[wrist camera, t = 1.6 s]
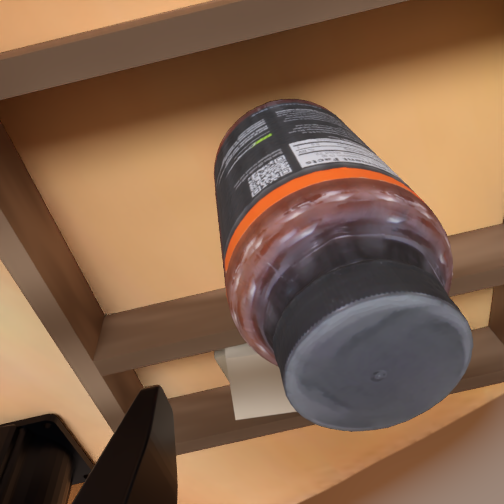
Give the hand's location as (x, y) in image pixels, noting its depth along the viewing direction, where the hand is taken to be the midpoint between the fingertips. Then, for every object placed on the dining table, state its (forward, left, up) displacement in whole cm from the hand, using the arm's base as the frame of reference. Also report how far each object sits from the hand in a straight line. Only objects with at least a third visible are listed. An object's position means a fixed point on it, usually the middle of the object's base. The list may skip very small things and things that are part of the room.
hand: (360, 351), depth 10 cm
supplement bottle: (0, 0, -11) cm, 11 cm away
